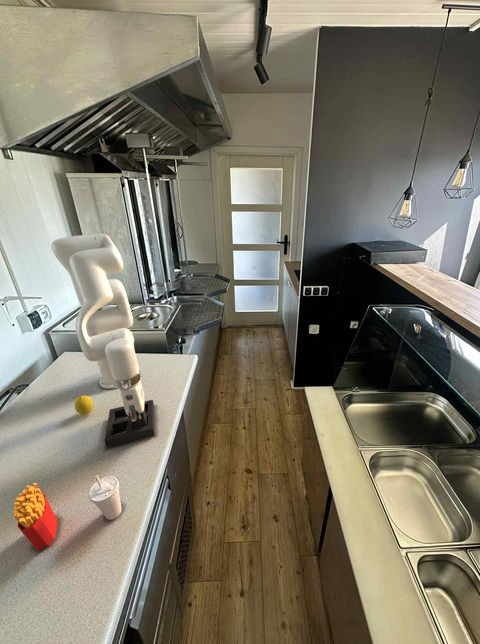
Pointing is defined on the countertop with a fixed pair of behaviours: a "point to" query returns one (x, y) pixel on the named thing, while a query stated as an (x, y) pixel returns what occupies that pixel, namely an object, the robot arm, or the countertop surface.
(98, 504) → the smoothie
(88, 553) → the countertop surface
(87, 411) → the lemon
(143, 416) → the connector plug
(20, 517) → the french fries
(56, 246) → the robot arm
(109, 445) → the socket pad
